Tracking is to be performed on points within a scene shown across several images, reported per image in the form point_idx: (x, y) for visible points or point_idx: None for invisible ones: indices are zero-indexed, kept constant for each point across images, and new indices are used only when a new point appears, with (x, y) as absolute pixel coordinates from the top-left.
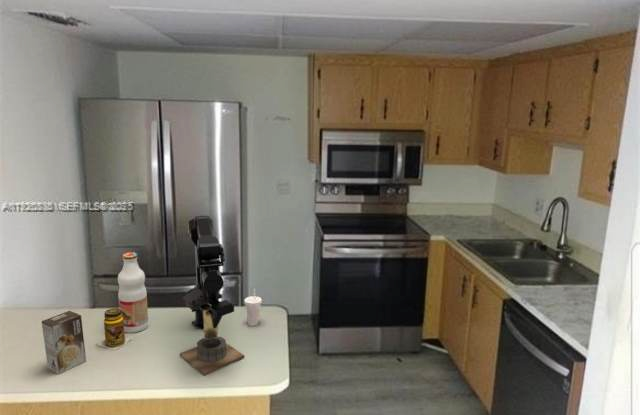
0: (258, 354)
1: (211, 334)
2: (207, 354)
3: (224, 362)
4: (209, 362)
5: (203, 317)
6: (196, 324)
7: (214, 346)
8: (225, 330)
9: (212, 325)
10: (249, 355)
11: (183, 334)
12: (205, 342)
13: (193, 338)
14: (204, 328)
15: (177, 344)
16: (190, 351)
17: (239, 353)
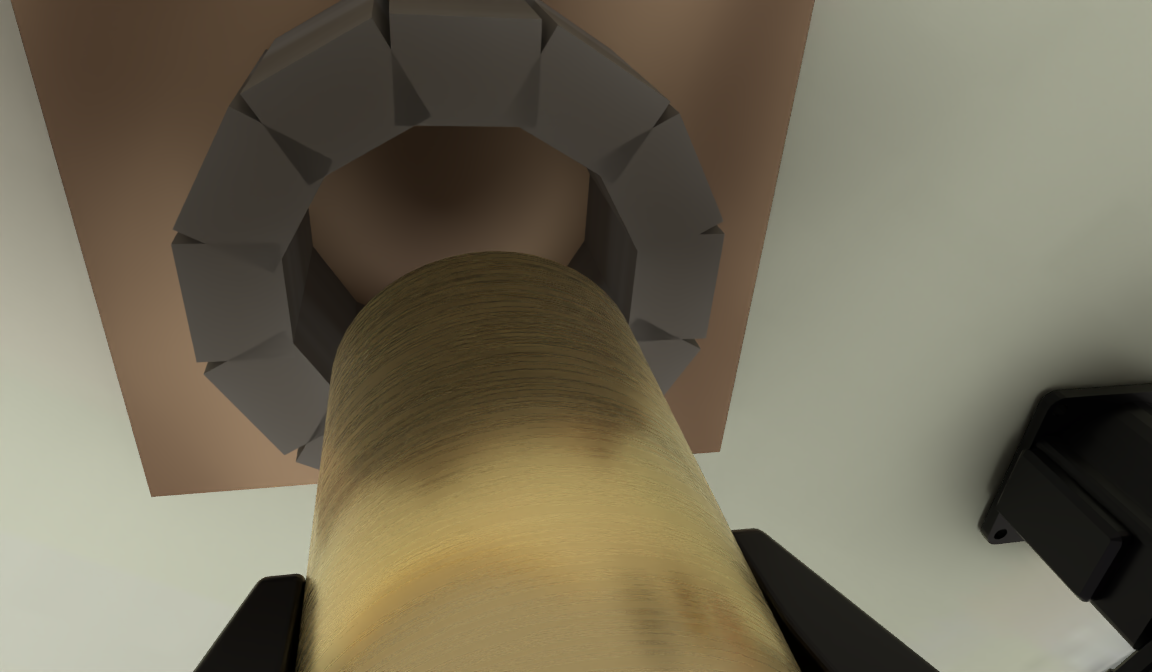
0: (149, 600)
1: (339, 393)
2: (257, 69)
3: (111, 229)
4: (251, 53)
5: (887, 634)
6: (1135, 402)
7: None
8: (810, 550)
9: (302, 632)
10: (187, 530)
11: (1146, 203)
12: (622, 247)
13: (983, 246)
14: (547, 378)
15: (1068, 11)
16: (749, 9)
17: (230, 474)
